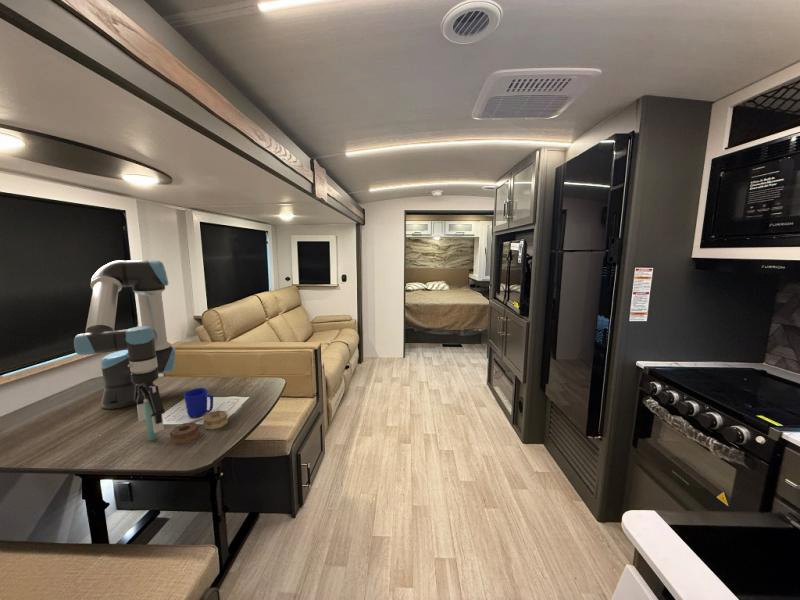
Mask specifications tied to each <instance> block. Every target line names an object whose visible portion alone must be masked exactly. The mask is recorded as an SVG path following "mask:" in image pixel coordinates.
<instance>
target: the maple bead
mask: <svg viewBox="0 0 800 600" xmlns="http://www.w3.org/2000/svg"><path fill="white" fill-rule="evenodd" d="M204 415H205V416H204ZM204 415H202V416H203V418H202V419H203V421H202V422H203V429H205V430H215V429H220V428H222V427H224V426H225V425H226V424H228V422H229V421H228V414H227V410H220V409H219V410H215V411H210V412H208V413H207V414H204Z"/></svg>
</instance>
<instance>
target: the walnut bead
mask: <svg viewBox="0 0 800 600" xmlns="http://www.w3.org/2000/svg"><path fill="white" fill-rule="evenodd" d="M199 427H200V426H199V424H198V423H197V422H196V421H195V422H191V423H187V422H183V423H181V424H179V425H176V426H174V427H173V428H172V429H171V430H170V431H169V434H170V441H171V442H172V443H173V444H175V445H177V444H178V445H179V444H185V443H188V442H191V441H193V440H195V439H197V437H198V436H199V434H200V429H199Z"/></svg>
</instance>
